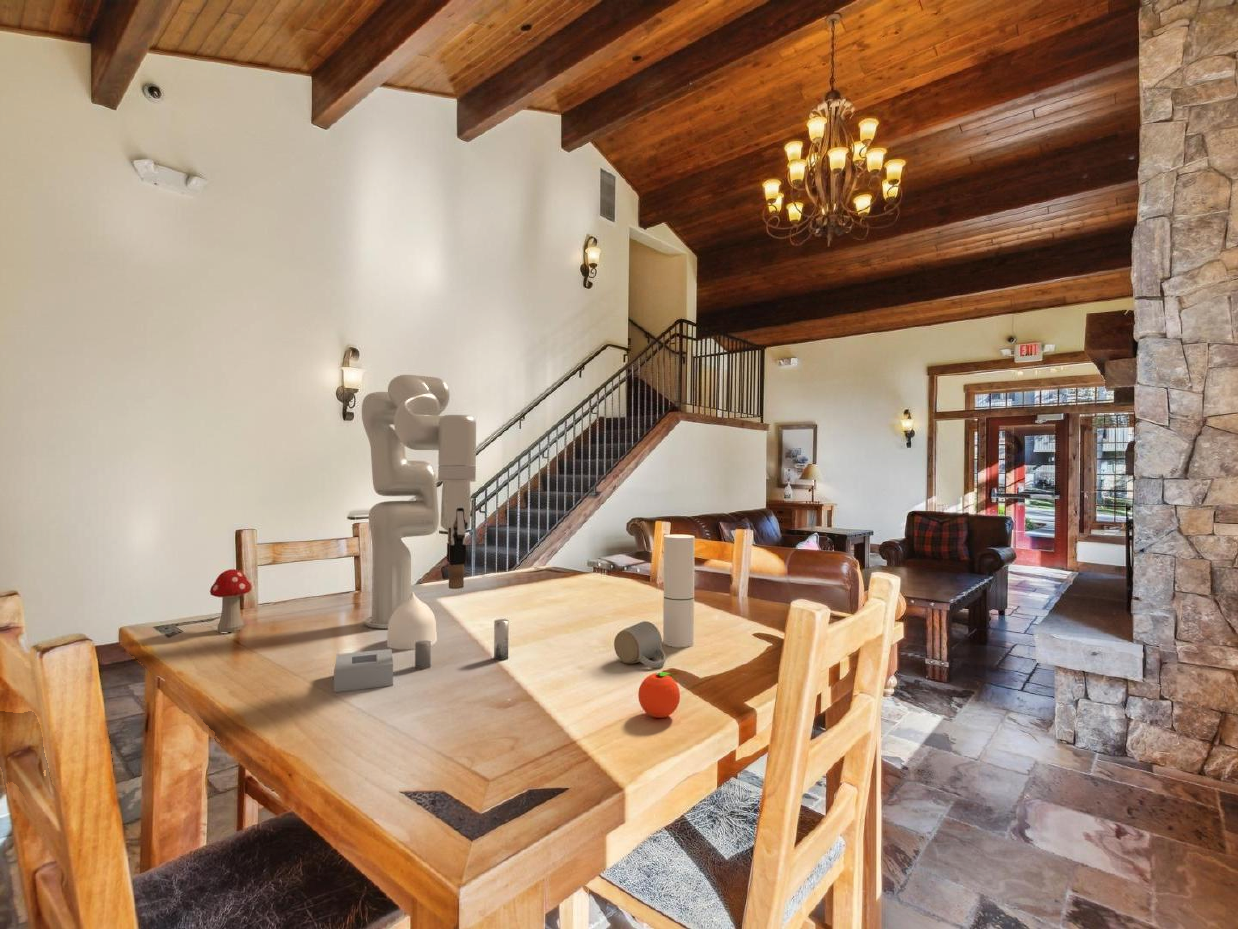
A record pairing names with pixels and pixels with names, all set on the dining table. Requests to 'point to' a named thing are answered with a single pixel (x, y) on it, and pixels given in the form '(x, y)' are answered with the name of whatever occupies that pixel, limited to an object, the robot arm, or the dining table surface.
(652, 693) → the clementine
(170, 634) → the dining table surface
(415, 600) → the teardrop
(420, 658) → the short pin
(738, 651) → the dining table surface
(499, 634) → the medium pin
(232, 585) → the decorative mushroom
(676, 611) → the cylindrical container
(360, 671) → the hole block
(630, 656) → the ceramic mug
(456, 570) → the long pin
